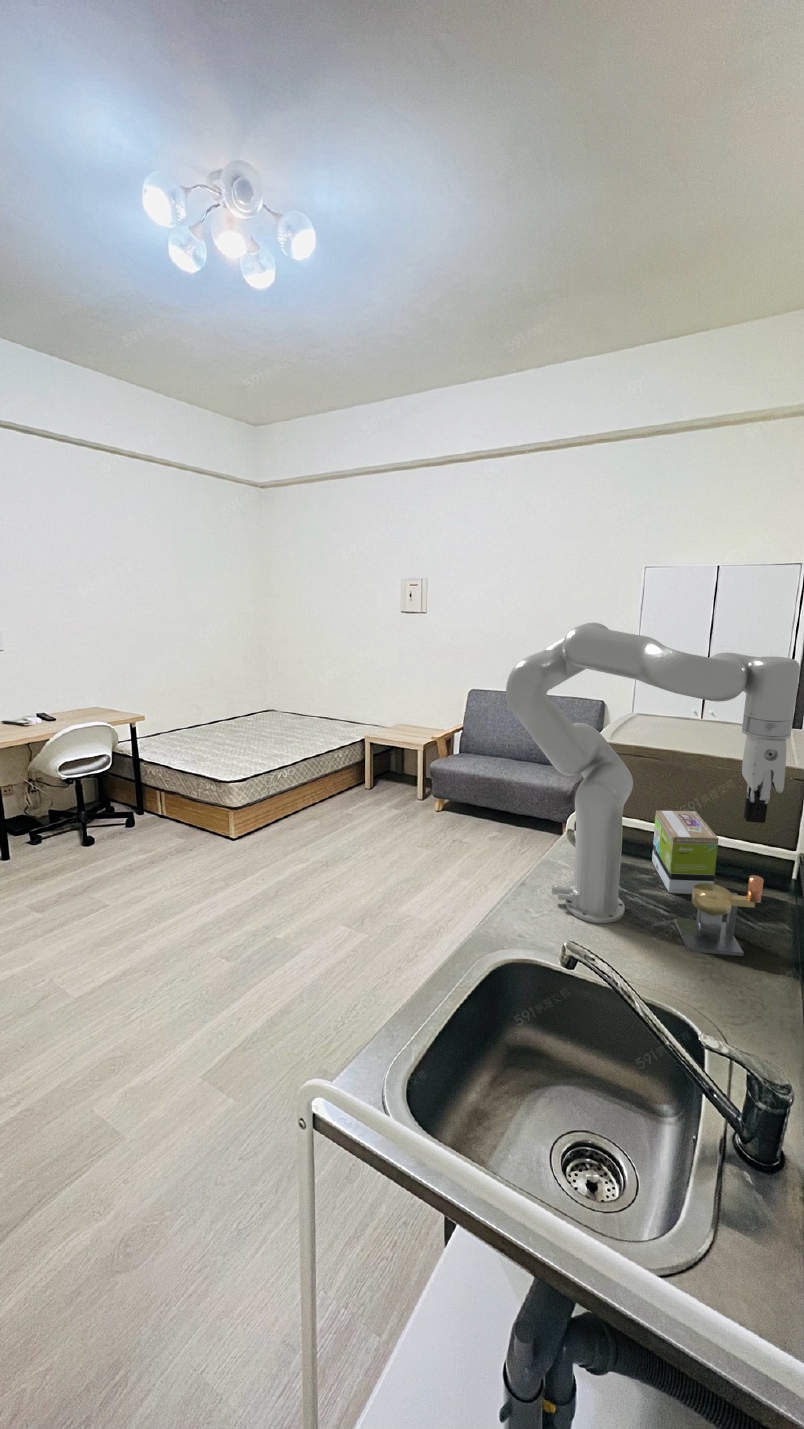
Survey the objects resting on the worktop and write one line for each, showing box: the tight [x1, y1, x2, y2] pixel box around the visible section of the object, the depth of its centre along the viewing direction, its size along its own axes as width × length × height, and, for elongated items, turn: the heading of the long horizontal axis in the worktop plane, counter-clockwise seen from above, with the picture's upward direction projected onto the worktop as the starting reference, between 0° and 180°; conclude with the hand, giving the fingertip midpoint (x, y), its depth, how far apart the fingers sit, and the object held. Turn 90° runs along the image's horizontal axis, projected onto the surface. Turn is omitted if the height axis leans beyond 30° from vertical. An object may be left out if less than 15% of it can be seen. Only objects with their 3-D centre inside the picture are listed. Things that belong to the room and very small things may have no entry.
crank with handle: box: [691, 874, 765, 916], centre depth 115 cm, size 12×7×7 cm, turn 78°
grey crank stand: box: [674, 892, 745, 957], centre depth 117 cm, size 10×10×9 cm
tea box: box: [651, 809, 719, 895], centre depth 139 cm, size 15×10×15 cm
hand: (754, 820), depth 109 cm, fingers closed
